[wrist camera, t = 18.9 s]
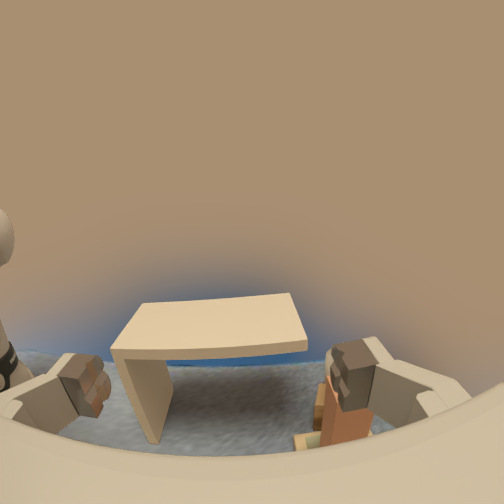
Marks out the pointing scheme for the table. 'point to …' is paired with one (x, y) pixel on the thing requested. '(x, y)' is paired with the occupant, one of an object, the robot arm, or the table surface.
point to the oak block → (319, 407)
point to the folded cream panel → (197, 344)
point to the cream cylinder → (328, 364)
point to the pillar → (342, 420)
